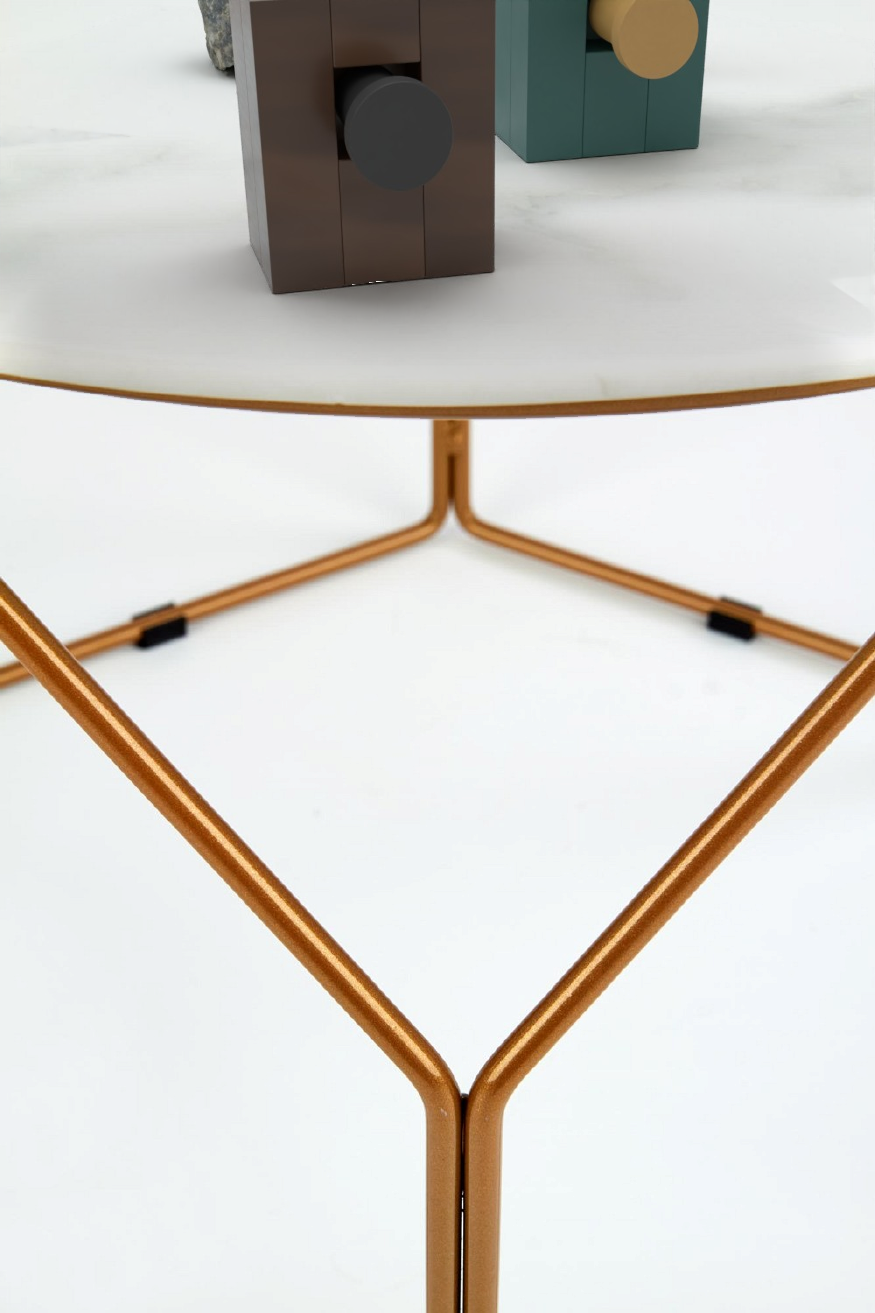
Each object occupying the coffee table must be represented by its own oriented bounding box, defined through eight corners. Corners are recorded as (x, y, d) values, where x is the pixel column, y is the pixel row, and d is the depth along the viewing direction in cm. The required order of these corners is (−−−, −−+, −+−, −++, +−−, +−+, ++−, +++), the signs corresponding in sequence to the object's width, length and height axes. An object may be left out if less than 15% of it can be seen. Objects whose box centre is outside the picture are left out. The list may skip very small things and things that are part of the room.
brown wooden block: (249, 242, 78) (225, -30, 71) (454, 223, 80) (451, -43, 73) (272, 293, 72) (249, 1, 64) (494, 271, 74) (496, -15, 66)
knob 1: (322, 153, 71) (316, 50, 68) (416, 145, 72) (414, 43, 69) (351, 196, 65) (346, 85, 63) (454, 186, 66) (453, 77, 64)
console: (490, 129, 96) (490, -96, 89) (652, 116, 98) (665, -105, 91) (526, 162, 90) (529, -78, 82) (698, 147, 92) (716, -88, 84)
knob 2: (575, 54, 88) (577, -31, 85) (649, 49, 89) (654, -36, 86) (616, 81, 82) (620, -9, 79) (695, 75, 83) (702, -14, 80)
